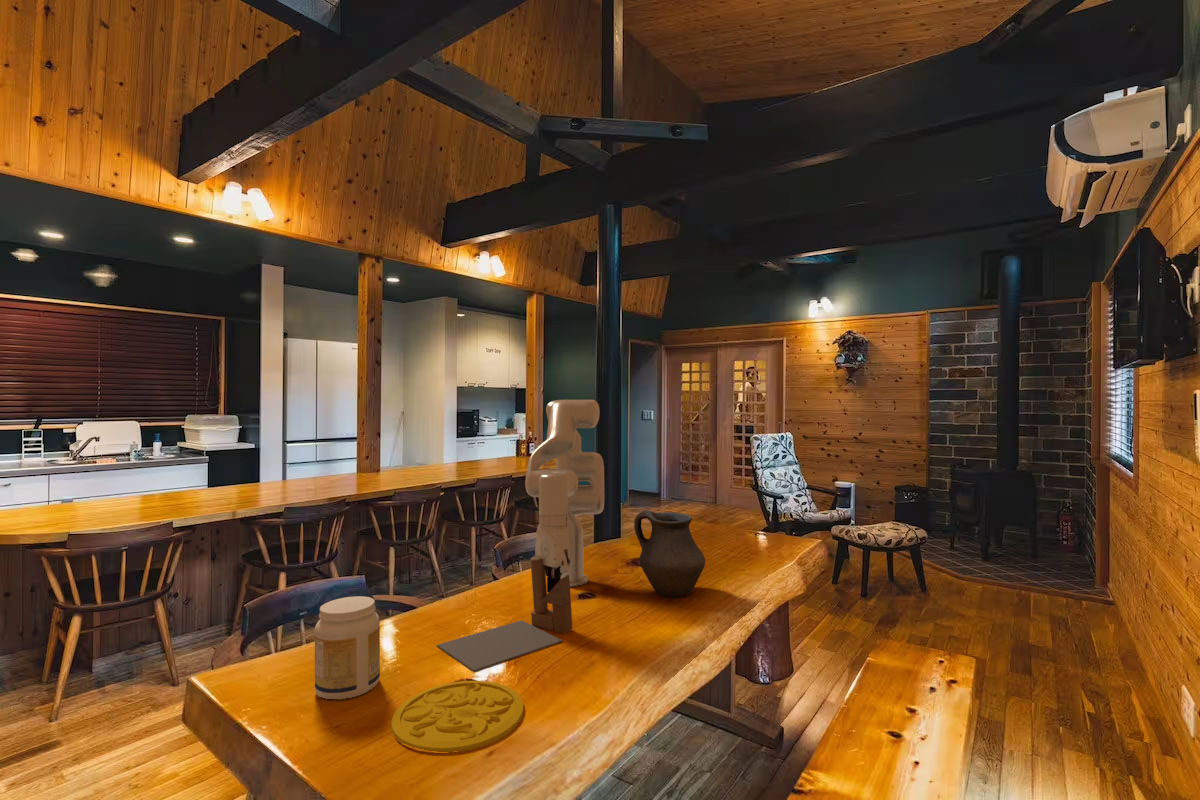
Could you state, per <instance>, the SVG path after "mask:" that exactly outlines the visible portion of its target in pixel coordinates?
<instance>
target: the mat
mask: <svg viewBox="0 0 1200 800" xmlns="http://www.w3.org/2000/svg"><path fill="white" fill-rule="evenodd" d="M560 643H563V639H561V638H559V637H557V636H555V635H552V634H551V633H549V632H546V631H545V630H542V628H540V627H536V626H533V625H532V624H531V623H528V622H527V621H524V620H522V619H521V620H519V621H515V622H511V623H508V624H504V625H500V626H497V627H495V628H491V629H486V630H483V631H479V632H475V633H473V634H469V635H466V636H463V637H460V638H455V639H453V640H449V641H446V642H442V643H439V644H436V647H437V648H438V647H439V648H438V649H440V650H441V651H442V652H444V653H445V652H446V653H445V654H447V655H448V656H450V657H452V658H453V659H454V660H456V661H457V662H458V663H460V664H461V665H463V666H464V667H465V668H467V669H468V670H470V671H472V673H475V672H478V671H480V670H484V669H487V668H489V667H493V666H495V665H498V664H502V663H505V662H507V661H510V660H513V659H515V658H516V659H517V658H519V657H522V656H525V655H528V654H531V653H534V652H537V651H540V650H542V649H545V648H549V647H552V646H554V645H555V646H556V645H557V644H560Z"/></svg>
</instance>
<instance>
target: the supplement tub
mask: <svg viewBox="0 0 1200 800" xmlns="http://www.w3.org/2000/svg"><path fill="white" fill-rule="evenodd" d="M375 603H376V602H375V599H374V598H372V597H369V596H361V595H360V596H359V595H358V596H347V597H340V598H337V599H332V600H330V601H328V602H325V603H323V604H322V605H320V607H319V614H318V617H319V620H318V621H317V622H316V624H315V627H314V632H313V633H314V690H315V694H316V695H317V696H318V697H319V698H321V697H322V698H321V699H323V698H326V699H325V700H327V699H344V700H346V699H345V698H349V699H352V697H353V698H355V697H359V696H362V695H363V694H366V693H368V692H370V691H371V690H372V689H374V688H375V687H376V686H377V684H378V683H379V681H380V678H381V677H380V676H381V668H380V667H381V665H380V664H381V659H380V658H381V653H380V651H381V649H380V647H381V646H380V644H381V642H380V641H381V640H380V637H381V636H380V633H381V632H380V629H381V627H380V626H381V625H380V624H381V623H380V622H381V621H380V616H379V614H378V613H377V612H376V604H375ZM373 687H374V688H373ZM369 690H370V691H369Z"/></svg>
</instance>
